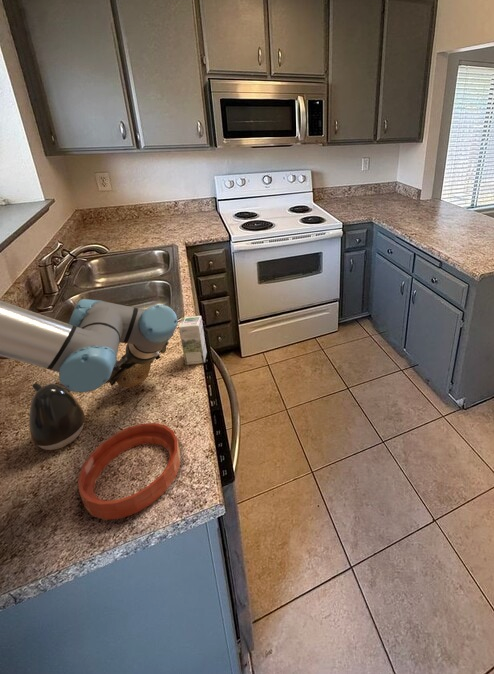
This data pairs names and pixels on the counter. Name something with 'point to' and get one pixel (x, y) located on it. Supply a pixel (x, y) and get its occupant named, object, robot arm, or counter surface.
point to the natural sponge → (134, 375)
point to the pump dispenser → (54, 417)
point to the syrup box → (193, 340)
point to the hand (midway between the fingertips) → (129, 371)
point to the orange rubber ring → (113, 449)
